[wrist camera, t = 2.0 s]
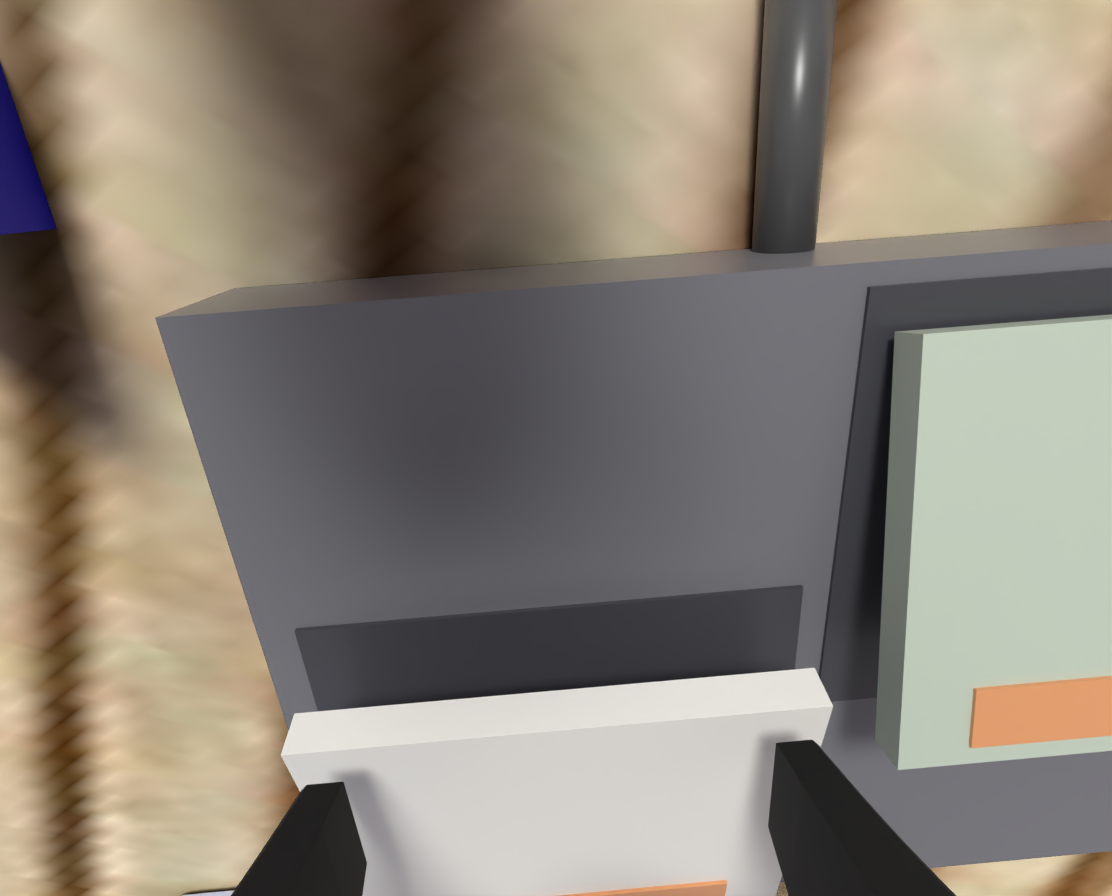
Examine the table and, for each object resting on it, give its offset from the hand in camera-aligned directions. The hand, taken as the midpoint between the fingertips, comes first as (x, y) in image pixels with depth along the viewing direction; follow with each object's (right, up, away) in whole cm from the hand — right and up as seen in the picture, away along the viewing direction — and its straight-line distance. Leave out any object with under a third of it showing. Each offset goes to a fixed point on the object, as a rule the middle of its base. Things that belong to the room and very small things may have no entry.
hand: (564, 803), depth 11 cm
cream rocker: (0, -2, +3) cm, 3 cm away
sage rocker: (+11, +4, +1) cm, 12 cm away
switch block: (+5, +5, +5) cm, 9 cm away
